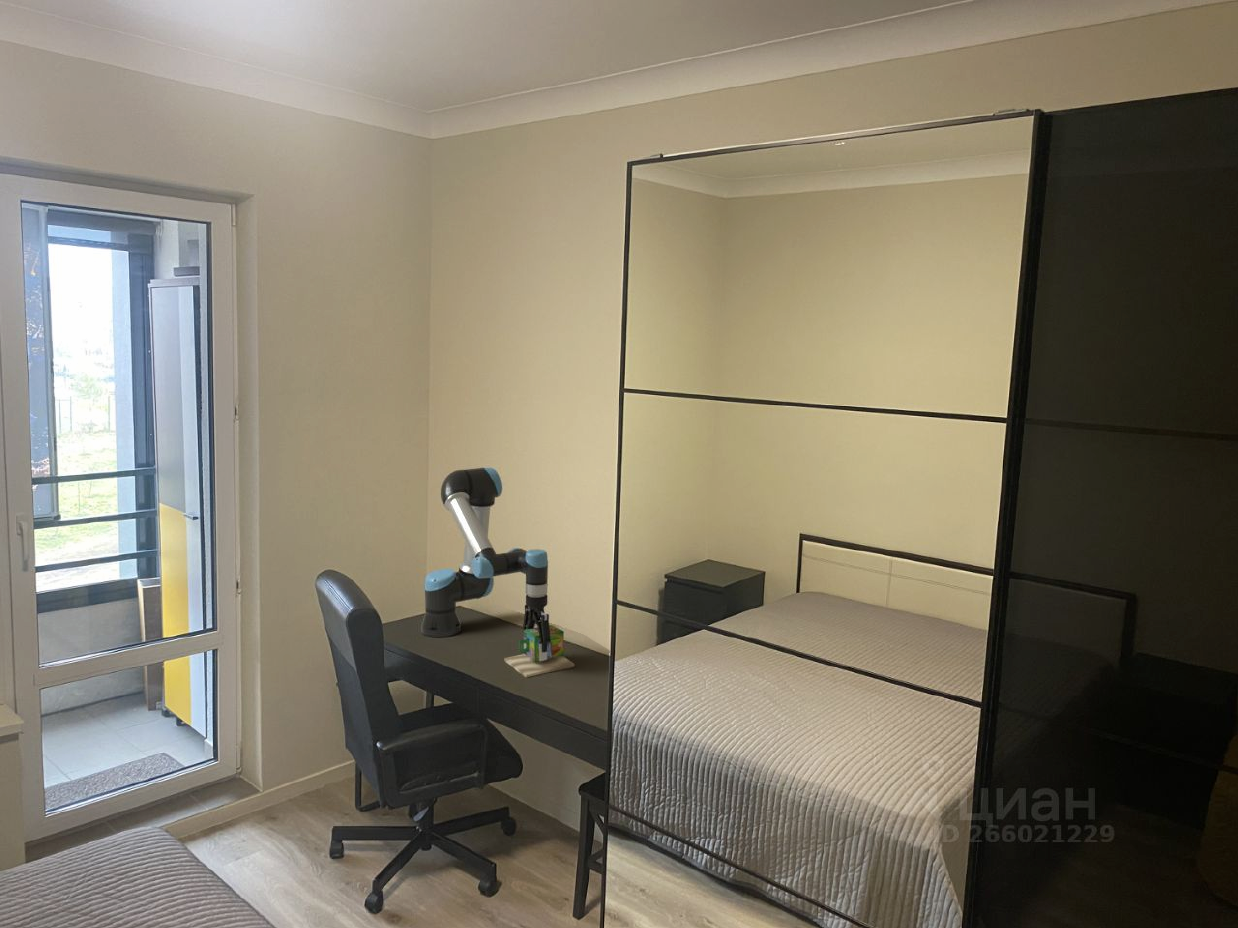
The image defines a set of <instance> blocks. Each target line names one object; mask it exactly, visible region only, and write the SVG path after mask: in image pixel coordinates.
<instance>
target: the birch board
mask: <svg viewBox="0 0 1238 928" xmlns="http://www.w3.org/2000/svg"><path fill="white" fill-rule="evenodd" d="M503 660H504V662H505V663H506V664H507V665H509V666H510V667H512V668H513V669H514V670H515V671H517V672H518V673H519V674H521V676H523V677H524V678H529V677H535V676H538V675H542V674H548V673H551V672H552V673H553V672H557V671H561V670H565V669H569V668H573V667H575V663H574V662H573V661H571V660H569V659H568V658H566V657H565V656H559V657H553V658H548V659H547V660H544V661H539V660H537V661H535V660H533V659H532V658H530V657H528V656H527V655H525V654H524V653H523V654H522V653H521V654H518V655H513V656H509V657H508V656H507V657H504V658H503Z"/></svg>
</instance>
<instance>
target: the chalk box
mask: <svg viewBox="0 0 1238 928" xmlns="http://www.w3.org/2000/svg"><path fill="white" fill-rule="evenodd" d="M549 628H550V637H551V642H549V643H547V659H548V658H553V657H559V656H563V657H565V656H564V655H565V651H564V649H565V648H564V642H565V641H564V640H565V639H564V637H565V636H564V635H565V634H564V633H565V631H564V630H563V629H560V628H558V627H556V626H555V625H553V624H549ZM539 642H541V641H540V637H539V632H538V627H534V628H532V629H526V630H523V639H519V641H518V645H519V653H521V654H522V653H523V654H525V655H527V656H528V657H530V658H532V659H533V660H535V661H537V660H539Z"/></svg>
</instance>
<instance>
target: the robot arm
mask: <svg viewBox="0 0 1238 928" xmlns="http://www.w3.org/2000/svg"><path fill="white" fill-rule="evenodd" d="M502 493H503V483H502V479H501V477H500V474H499V473H498V471H497V470H496V469H494V468H493V467H480V468H479V467H477V468H467V469H457V470H454V471H452V472H450V473H449V474H448V475H447V476H446V477H445V478H444V480H443V482H442V485H441V488H440V499H441V501H442V504H443V506H444V508H445V510H447V511H449V512H450V513H451V515H452V518H453V519H454V521H455V523H456V525H457V528H458V529H459V531H460V533H461V535H462V537H463V539H464V549H463V550H464V551H463V561H462V562H460V563H459V567H458V571H455V569H451V568H442V569H436V570H433V571H432V572H430V573H428V574H427V575H426V577H425V579H424V588H423V589H424V603H425V604H424V606H425V607H424V608H425V613H424V615H423V619H422V622H421V625H420V631H421V634H423V635H424V636H427V637H433V638H445V637H451V636H454V635H455V636H456V635H457V634H458V633H460V632H461V630H462V628H461V621H460V618H459V615H458V613H457V603H460V602H461V603H462V602H466V601H471V600H478V599H481V598H485V597H487V596H488V595H490V594H491V593H492V591H493V589H494V584H495V581H494V577H499V576H503V575H506V576H507V575H511V574H516V573H521V574H524V575H525V594H526V595H525V605H524V614H523V615H524V616H523V623H522V624H523V625H522V630H523V631H524V630H526V629H532V628H535V625H536V626H537V627H538V632H539V637H540V641H541V642H539V661H544V660H547V643H549V642H551V637H550V628H549V625H550V620H549V619H550V615H549V613H545V607H546V606H548V586H549V584H548V578H549V577H548V575H549V574H548V573H549V572H548V571H549V569H548V568H549V565H548V564H549V560H548V552H547V551H545V550H544V549H539V548H538V549H537V548H534V549H529V550H526V549H523V548H519V547H514V548H512V549H510V550H509V551H508V552H503V553H497V552H496V551H495V548H494V547H493V544H492V543H491V541H490V539H489V538H488V537H489V528H490V527H489V525H490V513H491V508H492V507H493V506H495V503H496V498H498V497H500V496H501V495H502ZM537 627H536V628H537Z"/></svg>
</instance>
